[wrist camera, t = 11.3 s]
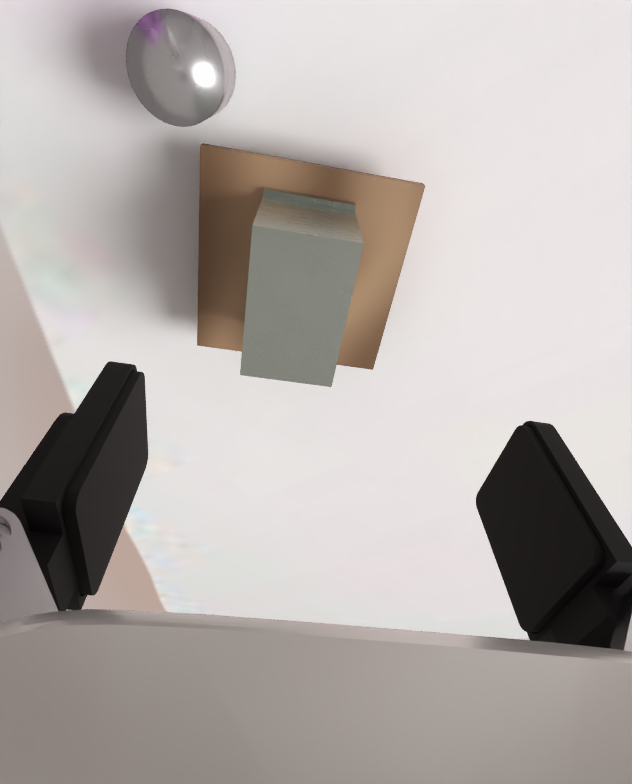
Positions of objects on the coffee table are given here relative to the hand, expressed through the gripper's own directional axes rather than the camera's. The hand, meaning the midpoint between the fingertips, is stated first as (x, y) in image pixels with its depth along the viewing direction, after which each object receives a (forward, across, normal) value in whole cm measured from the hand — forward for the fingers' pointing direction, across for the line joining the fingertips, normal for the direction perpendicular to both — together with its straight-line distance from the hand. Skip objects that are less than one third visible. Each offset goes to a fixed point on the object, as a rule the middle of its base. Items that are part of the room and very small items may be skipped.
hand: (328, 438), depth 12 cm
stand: (+21, 0, +3) cm, 21 cm away
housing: (+18, +1, +3) cm, 18 cm away
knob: (+21, +8, -6) cm, 23 cm away
